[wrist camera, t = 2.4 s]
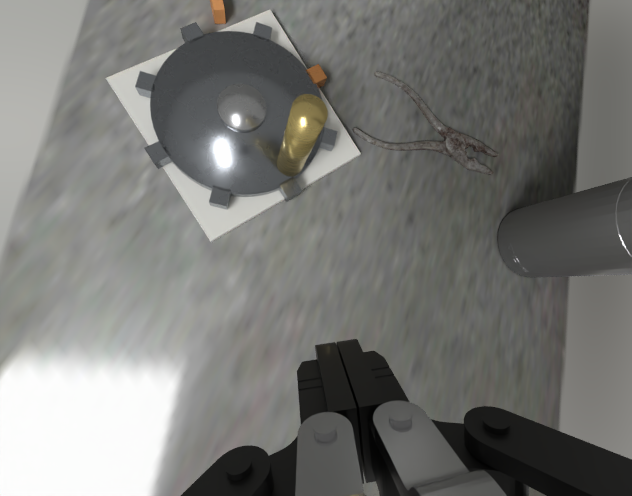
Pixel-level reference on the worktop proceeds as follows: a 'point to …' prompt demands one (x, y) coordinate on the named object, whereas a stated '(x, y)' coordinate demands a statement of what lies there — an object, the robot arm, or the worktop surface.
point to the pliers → (453, 140)
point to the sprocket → (236, 113)
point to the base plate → (198, 197)
